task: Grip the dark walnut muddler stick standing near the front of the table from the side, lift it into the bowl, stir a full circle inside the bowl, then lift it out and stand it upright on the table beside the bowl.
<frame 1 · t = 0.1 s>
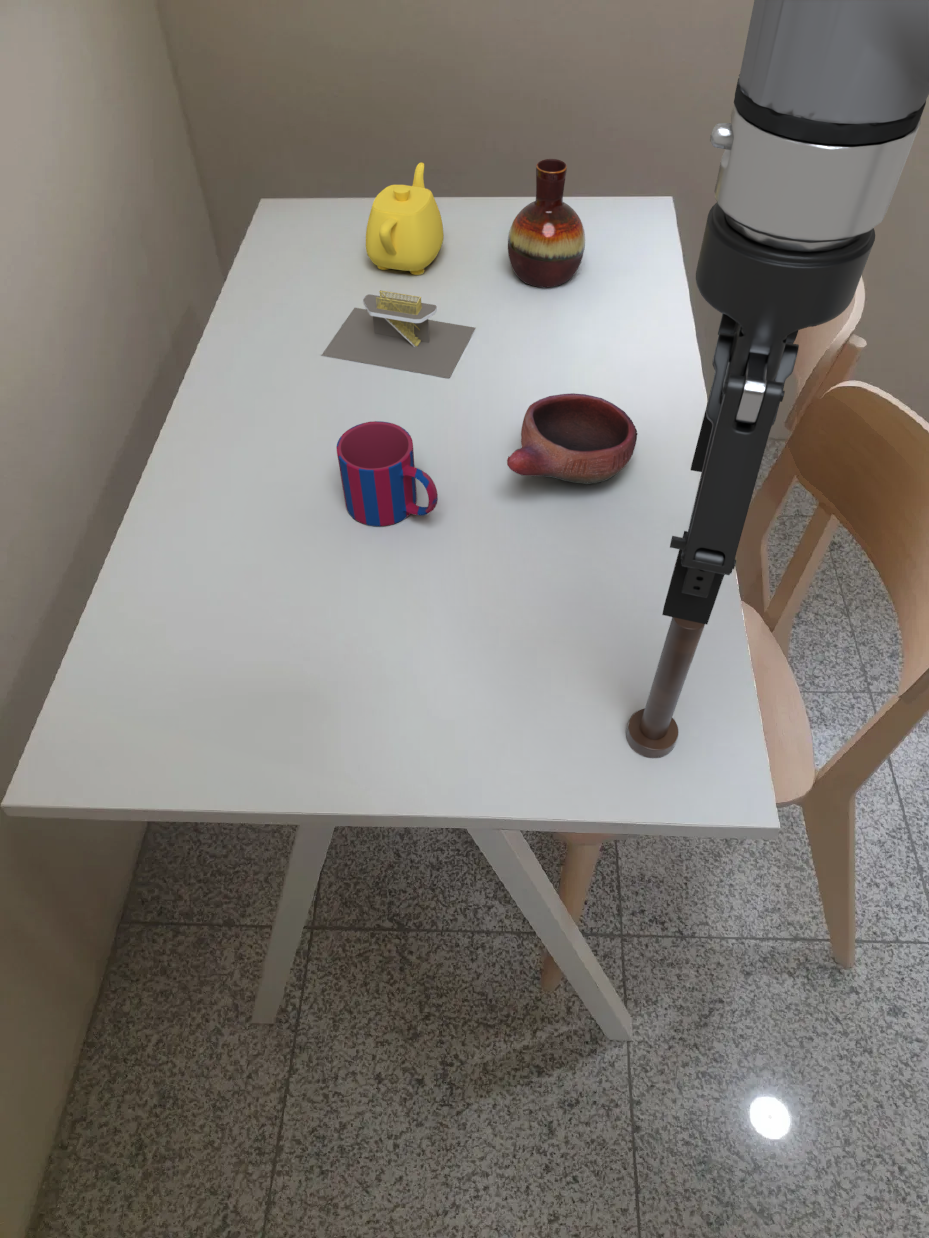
hand: (698, 538, 55), 26 cm above the table, tool pointing down, fingers open, 13 cm apart
platform: (399, 342, 114), on the table
vase: (544, 275, 124), on the table
mug: (393, 511, 94), on the table
bowl: (571, 477, 97), on the table
teapot: (407, 259, 128), on the table
muddler: (650, 736, 76), on the table
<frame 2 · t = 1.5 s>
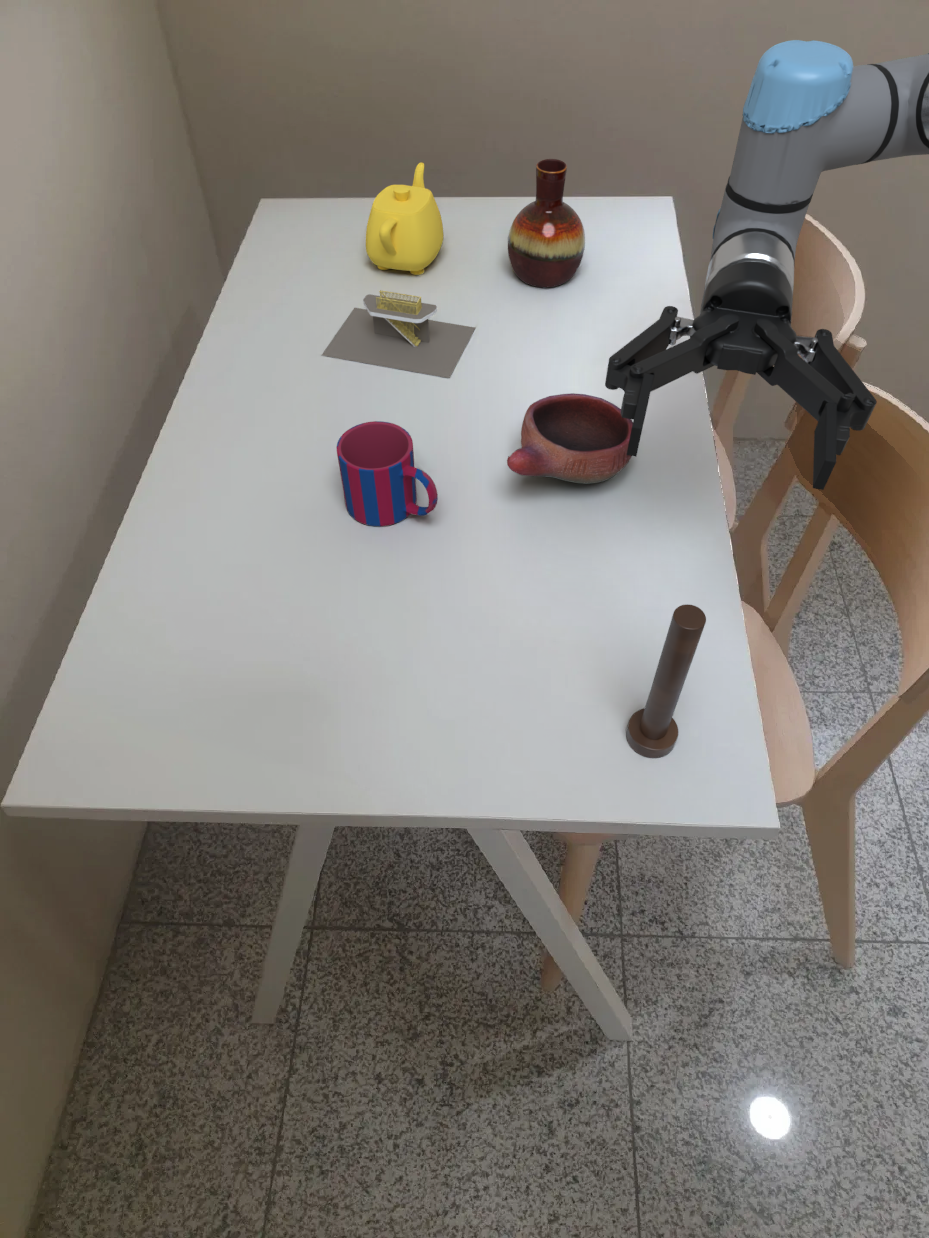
hand: (727, 458, 61), 25 cm above the table, tool horizontal, fingers open, 13 cm apart
nothing on the table moved.
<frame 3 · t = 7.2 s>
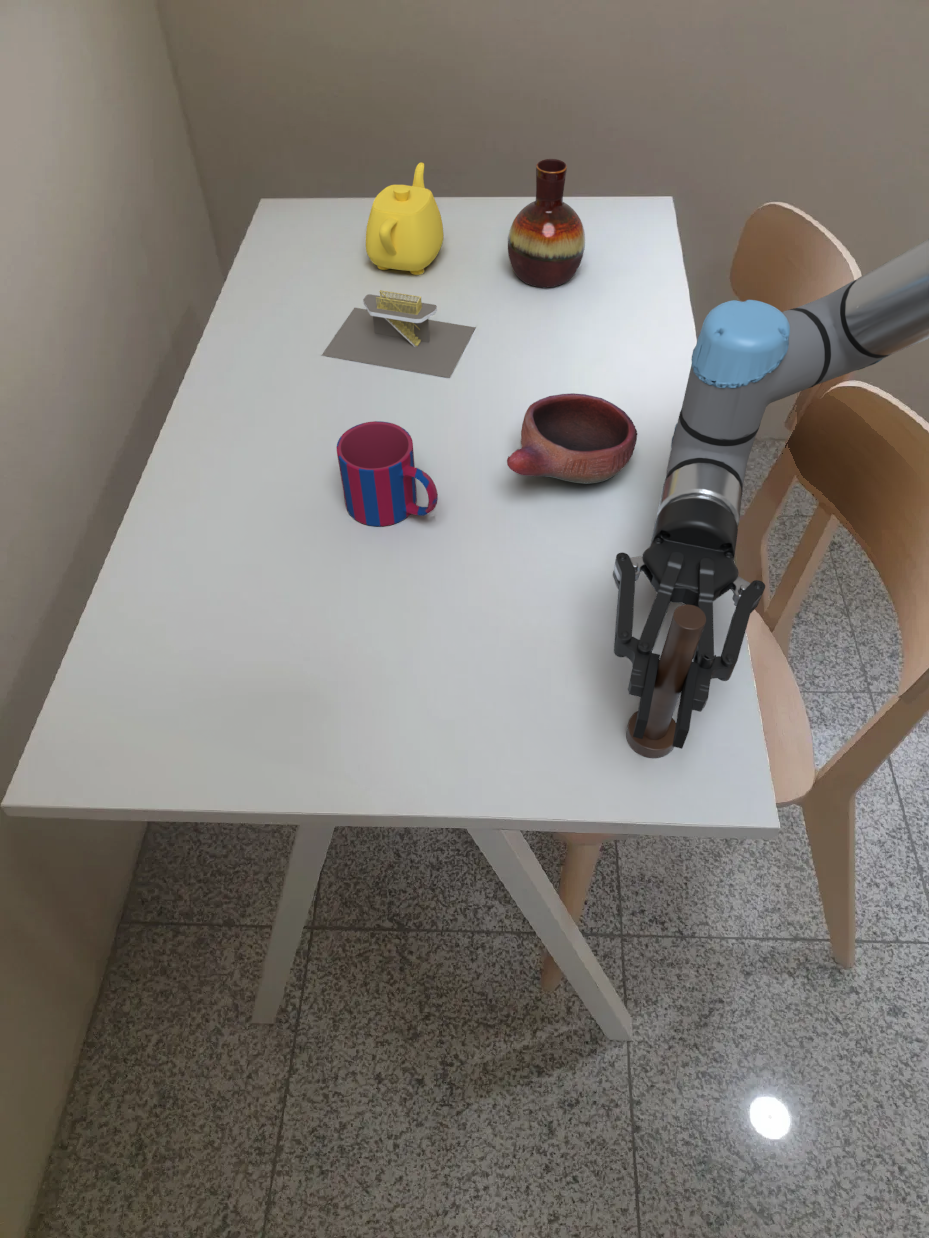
hand: (660, 733, 65), 10 cm above the table, tool horizontal, fingers closed on muddler, 2 cm apart
muddler: (650, 736, 76), on the table, touching gripper
everything else where it was.
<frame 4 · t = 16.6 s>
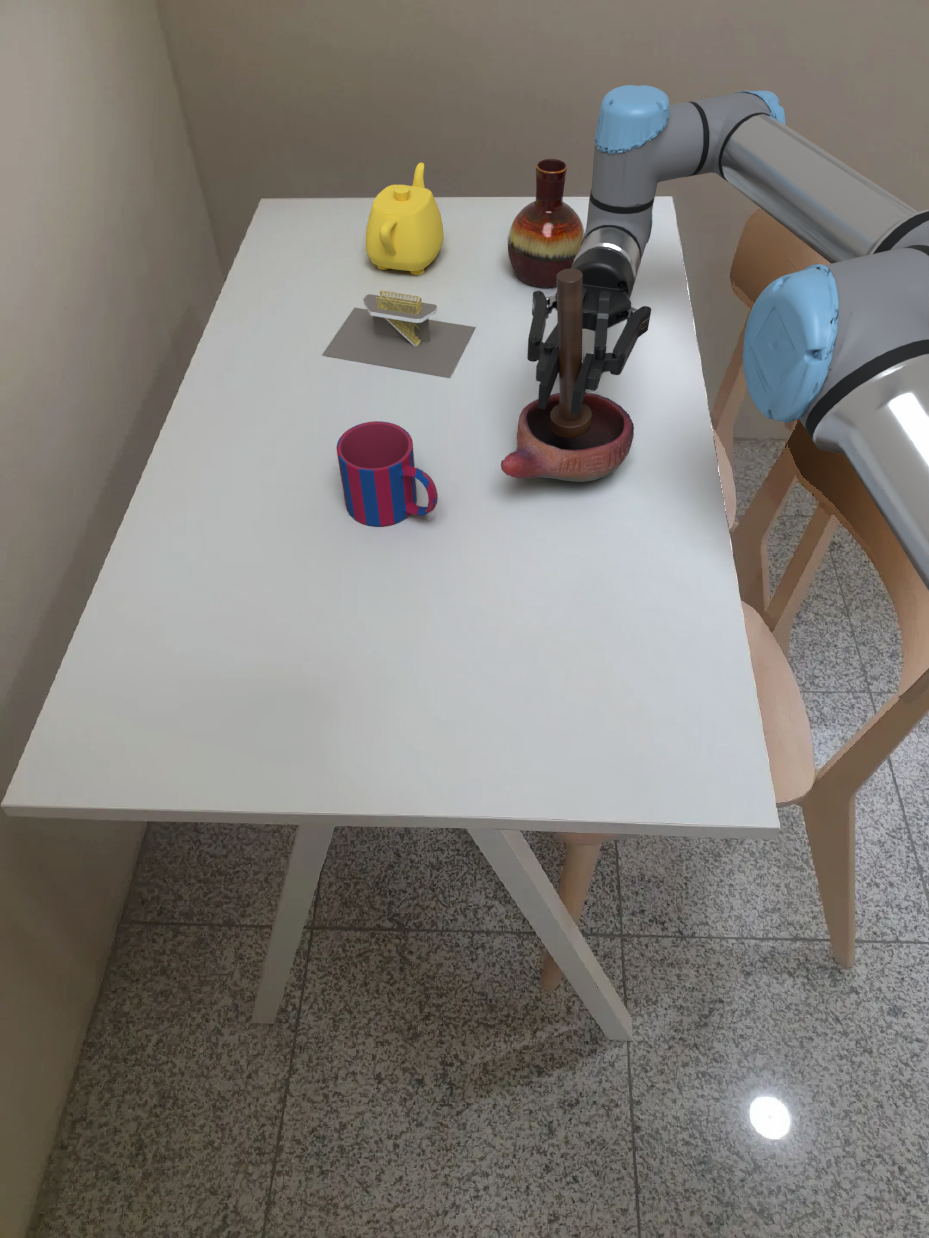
hand: (559, 399, 82), 15 cm above the table, tool horizontal, fingers closed on muddler, 3 cm apart
bowl: (571, 475, 97), on the table, touching muddler
muddler: (571, 425, 91), point 7 cm above the table, tilted 6°, touching bowl, gripper
everything else where it was.
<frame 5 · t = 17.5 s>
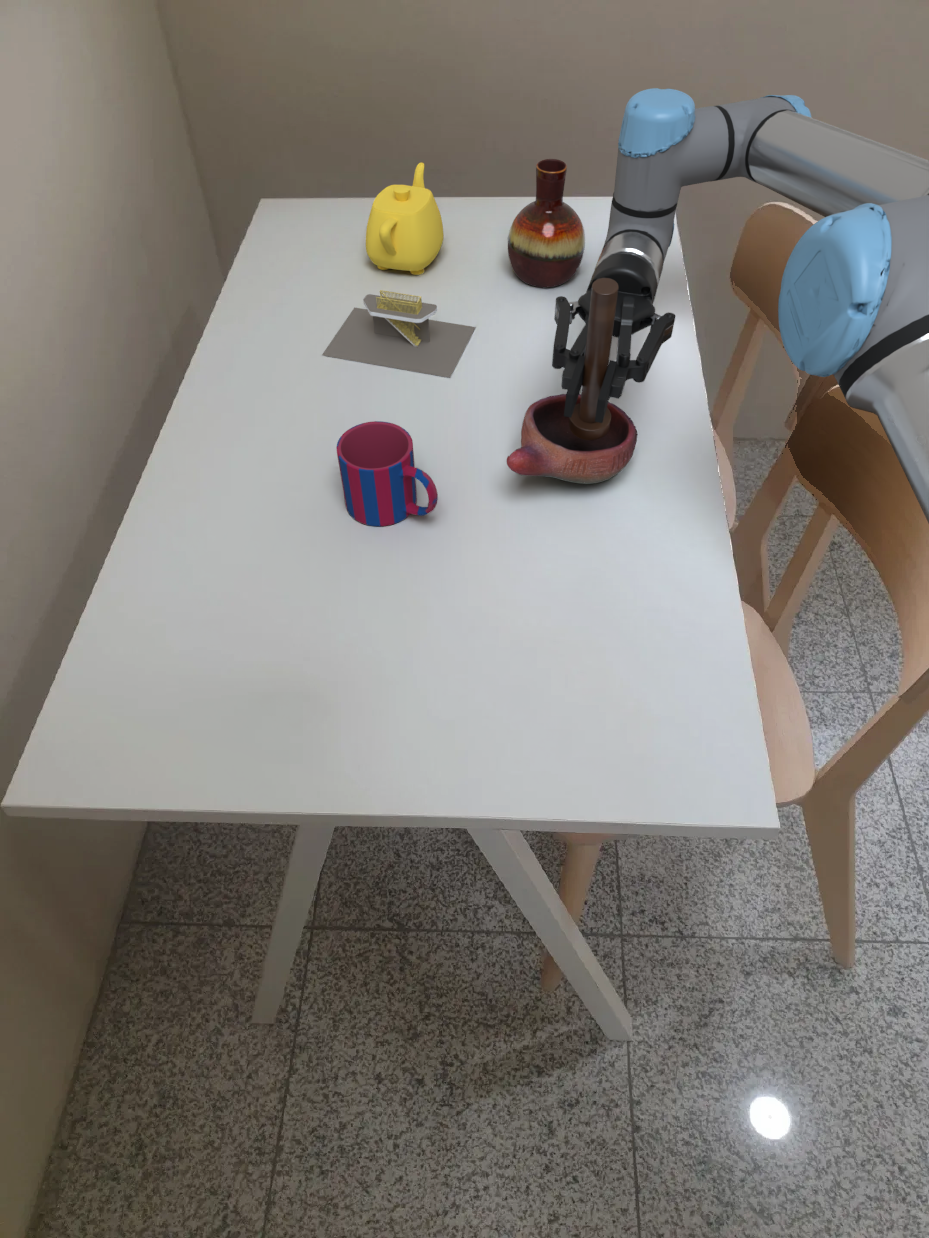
hand: (584, 408, 82), 15 cm above the table, tool horizontal, fingers closed on muddler, 2 cm apart
bowl: (571, 477, 97), on the table
muddler: (589, 425, 91), point 8 cm above the table, tilted 6°, touching gripper
everything else where it was.
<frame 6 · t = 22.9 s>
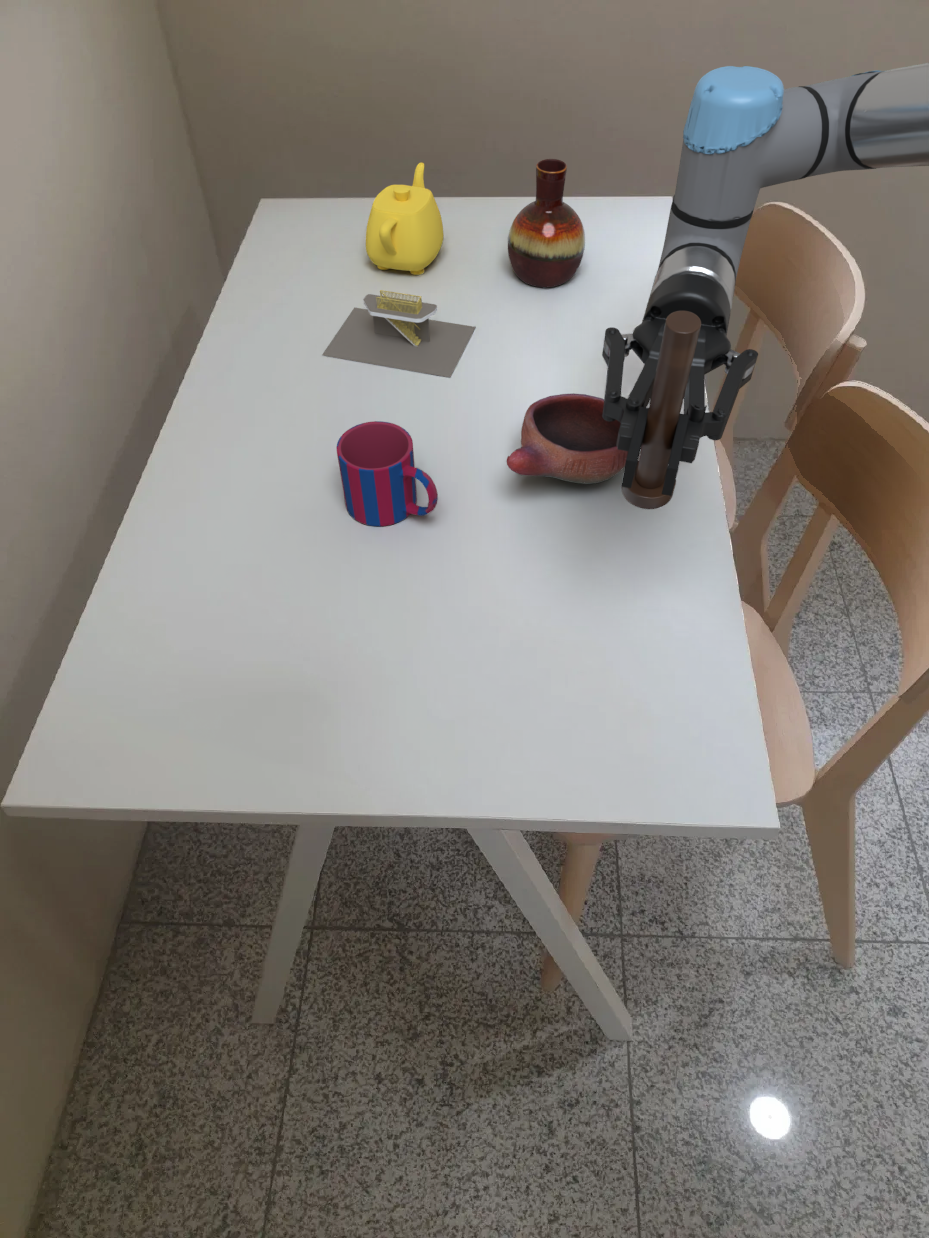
hand: (649, 477, 63), 23 cm above the table, tool horizontal, fingers closed on muddler, 2 cm apart
muddler: (647, 490, 72), point 16 cm above the table, tilted 7°, touching gripper
everything else where it was.
when the fingers open (7 cm above the table, at t = 27.6 s): muddler stays where it is, on the table.
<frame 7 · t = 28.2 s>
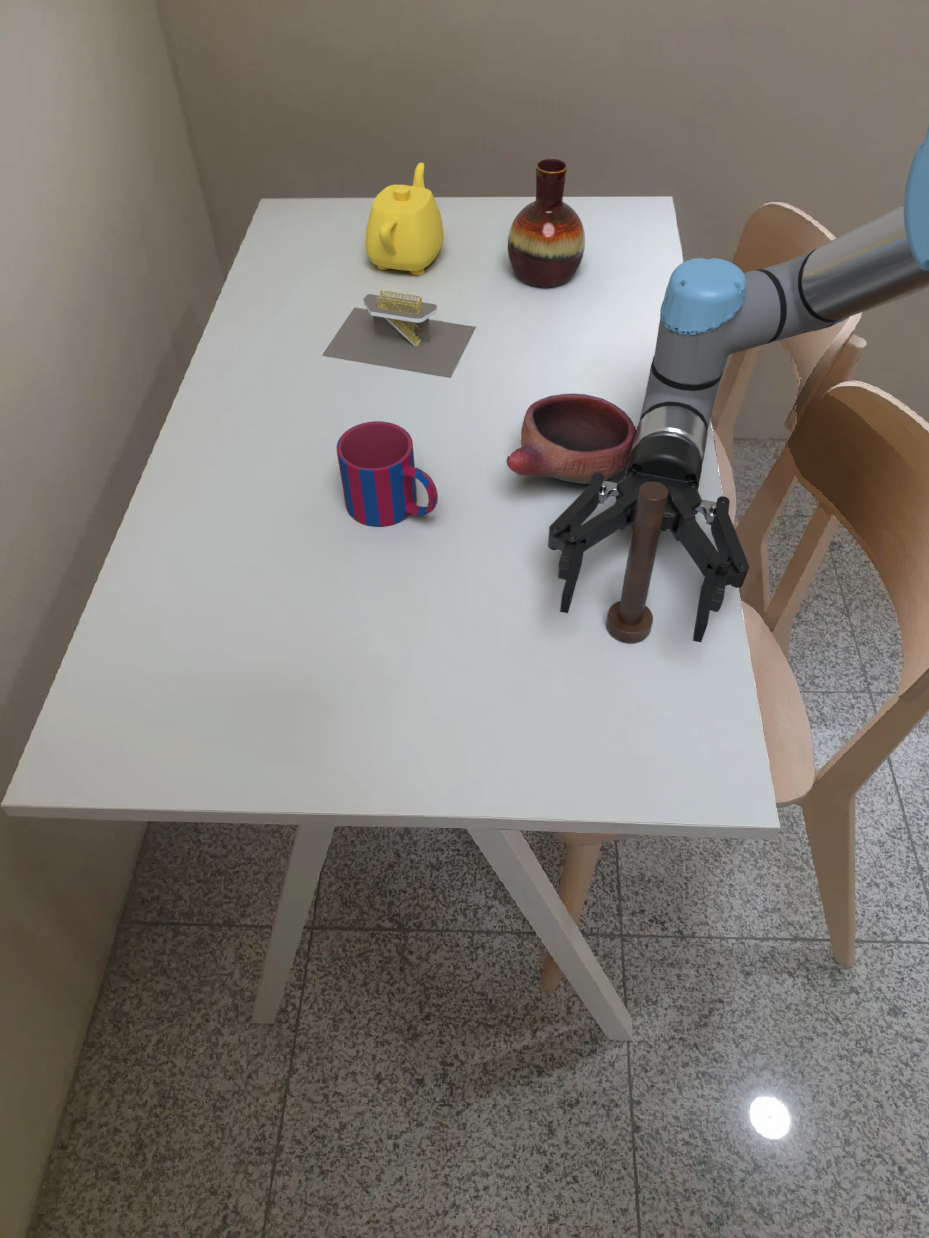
hand: (631, 617, 75), 7 cm above the table, tool horizontal, fingers open, 11 cm apart
muddler: (628, 625, 83), on the table
everything else where it was.
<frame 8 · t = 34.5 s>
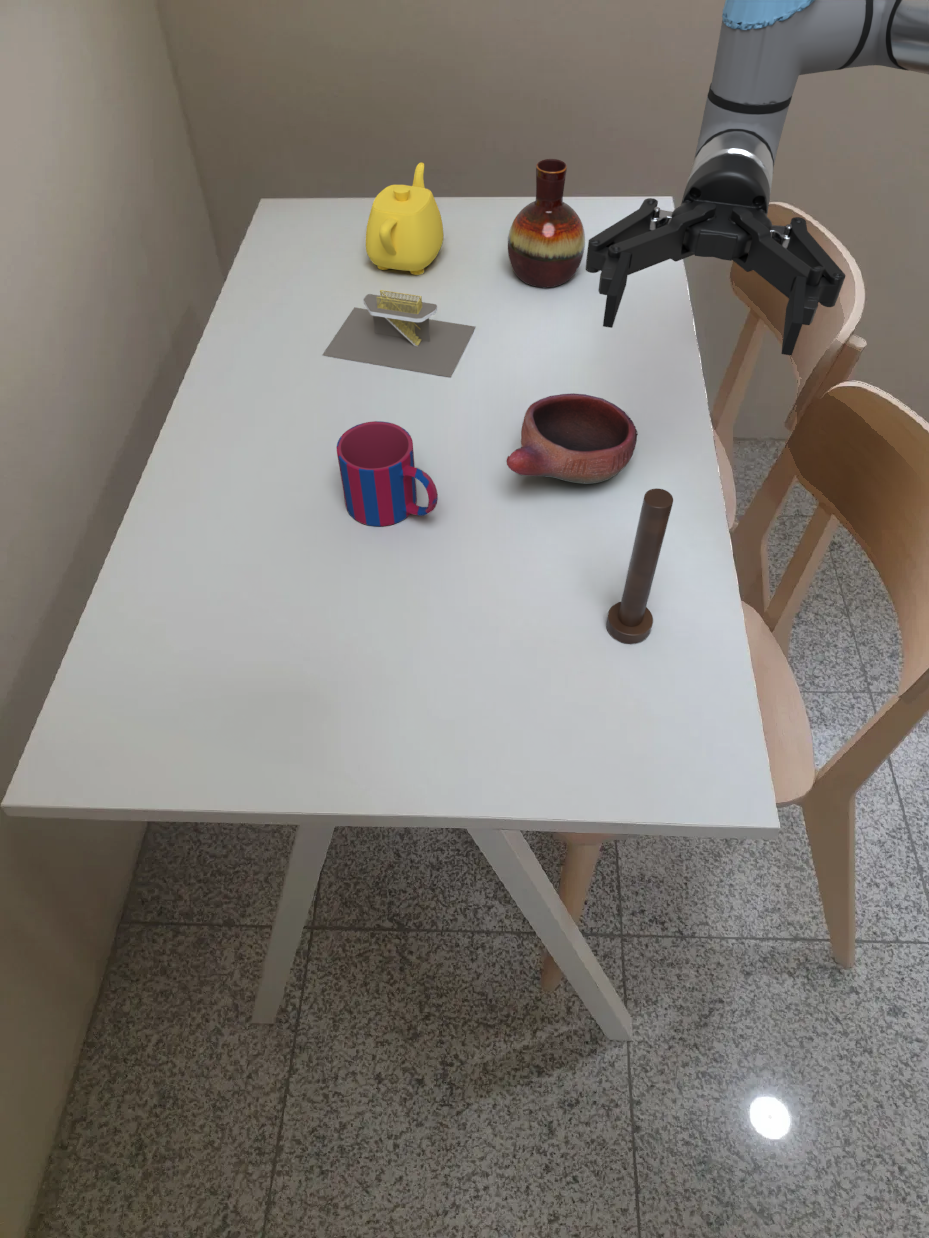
hand: (698, 325, 63), 30 cm above the table, tool horizontal, fingers open, 13 cm apart
nothing on the table moved.
at the end: muddler inside the target area (0.9 cm from its centre), on the table; muddler tilted 0°; bowl moved 0.2 cm from its start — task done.
